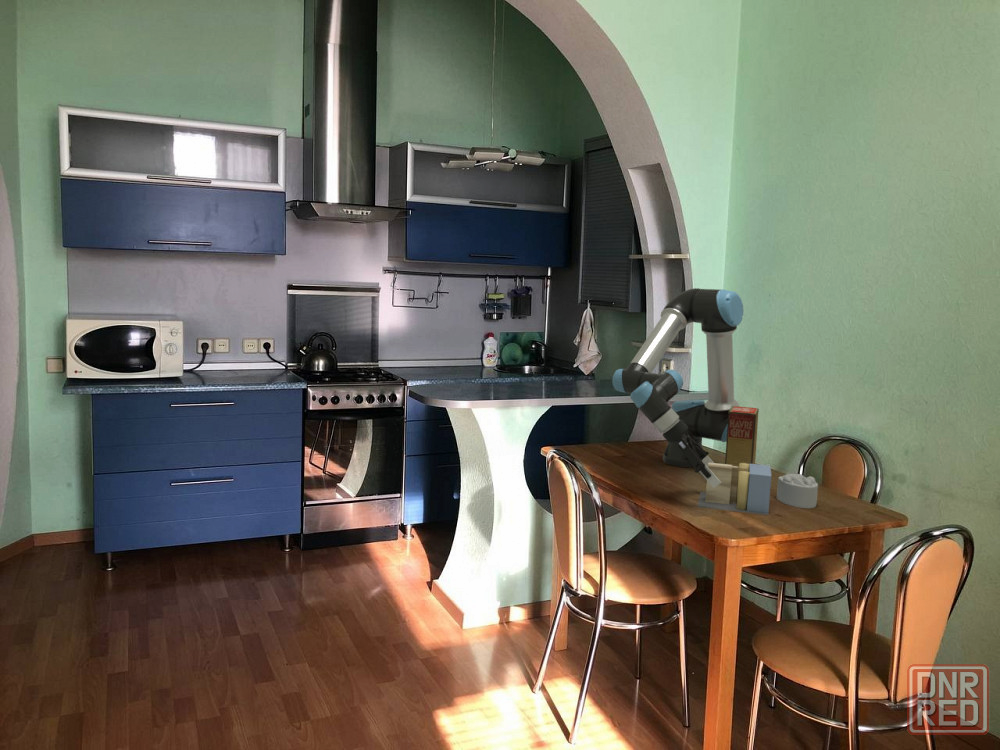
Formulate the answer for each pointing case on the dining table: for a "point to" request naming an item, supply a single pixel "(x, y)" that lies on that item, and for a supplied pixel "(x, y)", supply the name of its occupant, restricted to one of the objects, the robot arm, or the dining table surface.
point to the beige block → (724, 483)
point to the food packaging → (741, 435)
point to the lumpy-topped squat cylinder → (797, 490)
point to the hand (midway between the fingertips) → (717, 479)
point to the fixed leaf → (754, 488)
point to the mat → (721, 505)
